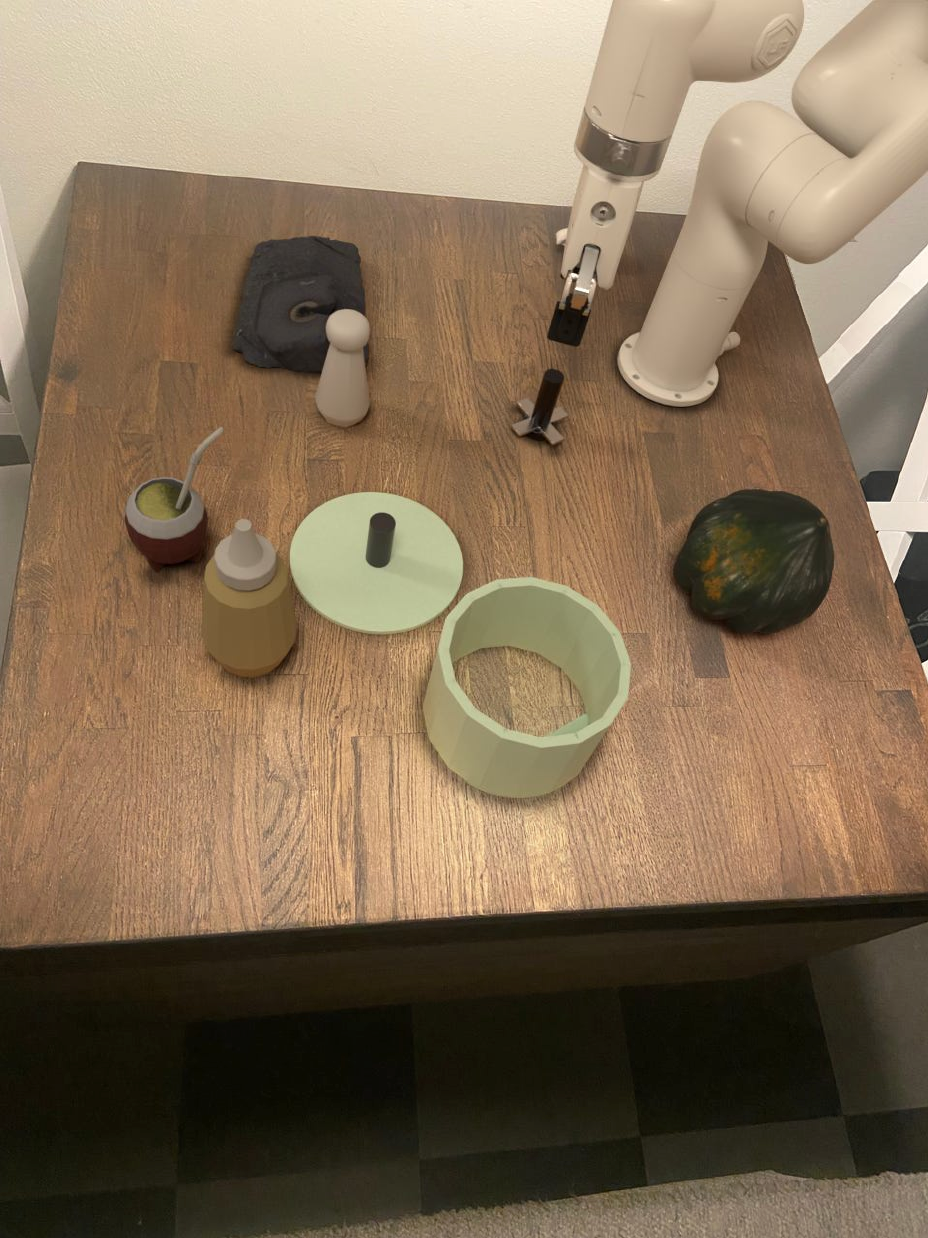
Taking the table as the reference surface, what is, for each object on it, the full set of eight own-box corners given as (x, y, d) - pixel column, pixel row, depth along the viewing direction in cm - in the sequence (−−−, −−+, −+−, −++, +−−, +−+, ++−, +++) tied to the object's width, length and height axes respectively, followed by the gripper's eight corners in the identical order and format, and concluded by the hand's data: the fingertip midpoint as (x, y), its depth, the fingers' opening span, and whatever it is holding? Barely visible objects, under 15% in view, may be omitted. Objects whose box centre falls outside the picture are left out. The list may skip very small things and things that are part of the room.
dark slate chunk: (375, 260, 115) (378, 226, 111) (366, 381, 103) (369, 348, 99) (251, 242, 113) (250, 207, 109) (227, 364, 101) (225, 330, 97)
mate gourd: (118, 566, 85) (90, 454, 72) (164, 508, 89) (145, 393, 77) (190, 597, 84) (174, 489, 72) (233, 537, 88) (225, 426, 76)
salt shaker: (360, 441, 98) (369, 345, 87) (308, 427, 98) (311, 330, 87) (374, 404, 101) (384, 308, 91) (323, 391, 101) (328, 293, 91)
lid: (404, 478, 96) (411, 433, 91) (494, 595, 90) (508, 554, 84) (258, 535, 89) (256, 489, 84) (345, 666, 83) (349, 626, 77)
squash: (643, 503, 92) (745, 503, 79) (758, 477, 98) (872, 474, 84) (659, 638, 95) (760, 661, 82) (771, 606, 101) (883, 623, 87)
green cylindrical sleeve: (528, 617, 89) (554, 551, 80) (629, 745, 83) (669, 690, 74) (390, 686, 82) (402, 623, 74) (488, 831, 76) (514, 781, 68)
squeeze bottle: (257, 707, 79) (251, 588, 64) (184, 658, 81) (162, 530, 66) (314, 644, 84) (321, 519, 69) (244, 598, 85) (236, 466, 70)
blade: (543, 400, 106) (560, 345, 100) (579, 440, 104) (599, 387, 97) (494, 418, 103) (509, 363, 97) (530, 460, 101) (548, 406, 94)
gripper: (659, 208, 70) (596, 377, 85) (672, 100, 80) (614, 268, 94) (565, 183, 70) (518, 357, 84) (590, 77, 80) (544, 249, 94)
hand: (569, 309), depth 89 cm, fingers open, 9 cm apart
